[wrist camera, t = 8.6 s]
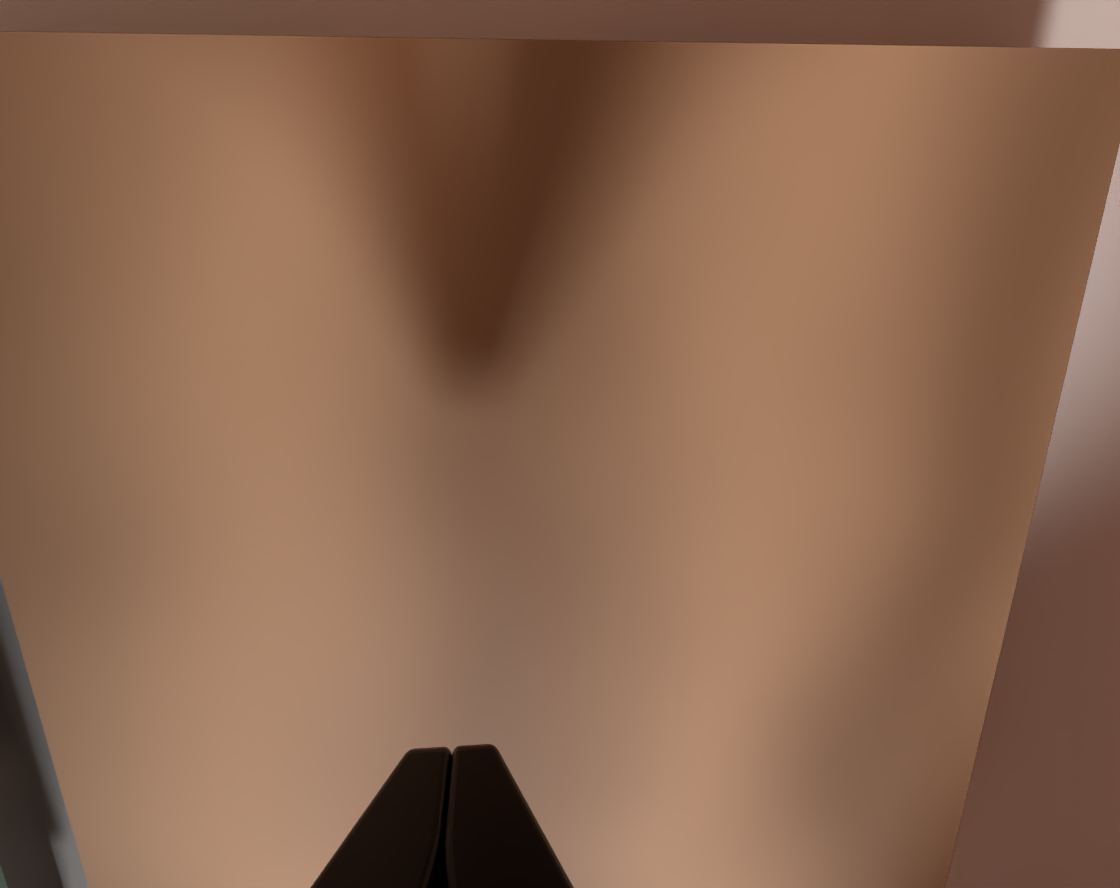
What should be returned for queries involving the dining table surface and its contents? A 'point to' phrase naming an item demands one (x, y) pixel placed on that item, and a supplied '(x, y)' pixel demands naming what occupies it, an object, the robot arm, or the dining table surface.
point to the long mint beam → (2, 880)
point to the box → (29, 783)
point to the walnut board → (531, 434)
